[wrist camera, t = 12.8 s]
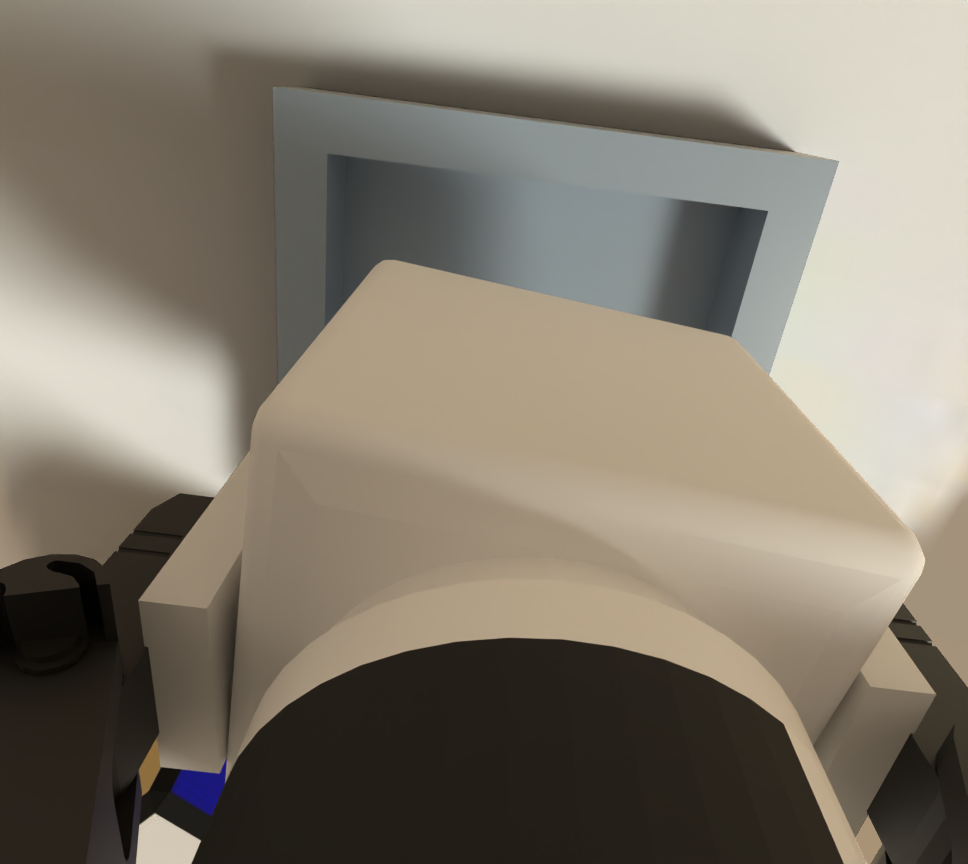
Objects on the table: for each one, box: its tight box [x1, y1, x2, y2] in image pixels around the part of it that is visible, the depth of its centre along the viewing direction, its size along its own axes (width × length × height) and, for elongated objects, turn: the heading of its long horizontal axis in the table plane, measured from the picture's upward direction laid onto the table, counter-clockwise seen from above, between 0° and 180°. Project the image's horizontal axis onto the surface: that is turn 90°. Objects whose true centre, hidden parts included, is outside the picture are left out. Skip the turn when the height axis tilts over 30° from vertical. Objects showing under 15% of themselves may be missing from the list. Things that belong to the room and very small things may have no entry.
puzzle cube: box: [136, 738, 227, 864], centre depth 22 cm, size 10×10×10 cm
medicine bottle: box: [191, 260, 925, 864], centre depth 9 cm, size 7×7×12 cm
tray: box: [273, 87, 839, 384], centre depth 19 cm, size 12×12×2 cm
